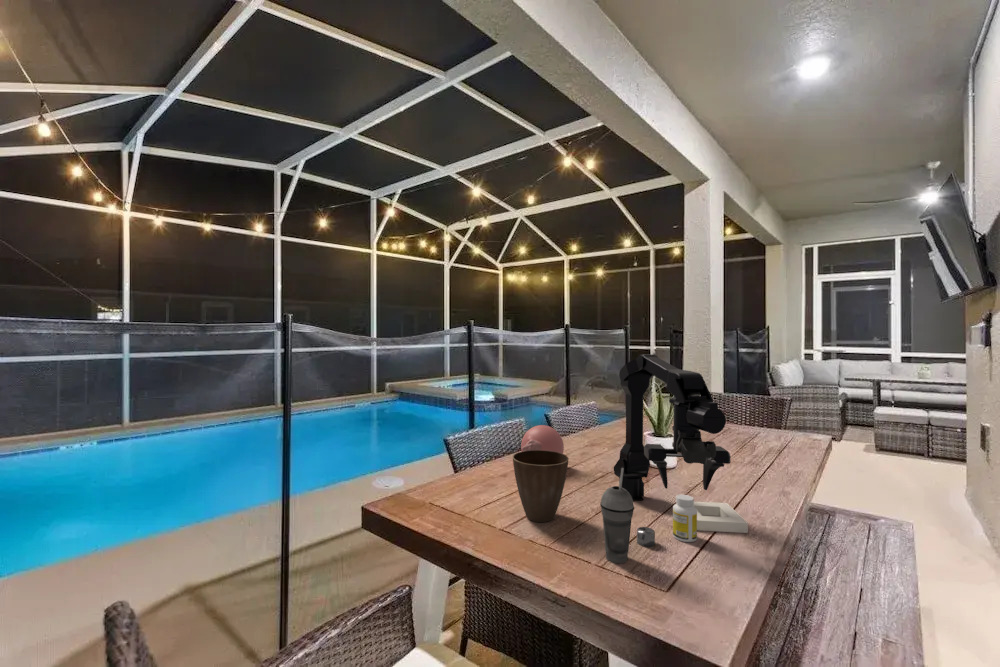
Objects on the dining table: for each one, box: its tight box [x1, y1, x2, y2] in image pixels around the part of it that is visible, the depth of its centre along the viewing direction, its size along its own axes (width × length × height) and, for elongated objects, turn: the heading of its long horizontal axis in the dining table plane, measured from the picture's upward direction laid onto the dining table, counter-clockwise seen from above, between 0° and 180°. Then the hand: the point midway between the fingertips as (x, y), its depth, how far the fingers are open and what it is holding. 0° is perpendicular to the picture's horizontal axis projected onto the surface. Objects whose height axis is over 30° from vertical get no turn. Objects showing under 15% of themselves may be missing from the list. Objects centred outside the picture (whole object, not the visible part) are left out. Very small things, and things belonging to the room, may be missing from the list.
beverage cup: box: [600, 468, 635, 564], centre depth 98 cm, size 7×7×20 cm
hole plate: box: [693, 500, 749, 534], centre depth 118 cm, size 13×13×2 cm
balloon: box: [520, 424, 565, 454], centre depth 161 cm, size 15×20×15 cm
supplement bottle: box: [672, 494, 698, 543], centre depth 108 cm, size 5×5×10 cm
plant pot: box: [512, 450, 569, 523], centre depth 120 cm, size 15×15×16 cm
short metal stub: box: [636, 526, 656, 548], centre depth 105 cm, size 4×4×3 cm
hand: (685, 488), depth 108 cm, fingers open, 9 cm apart
